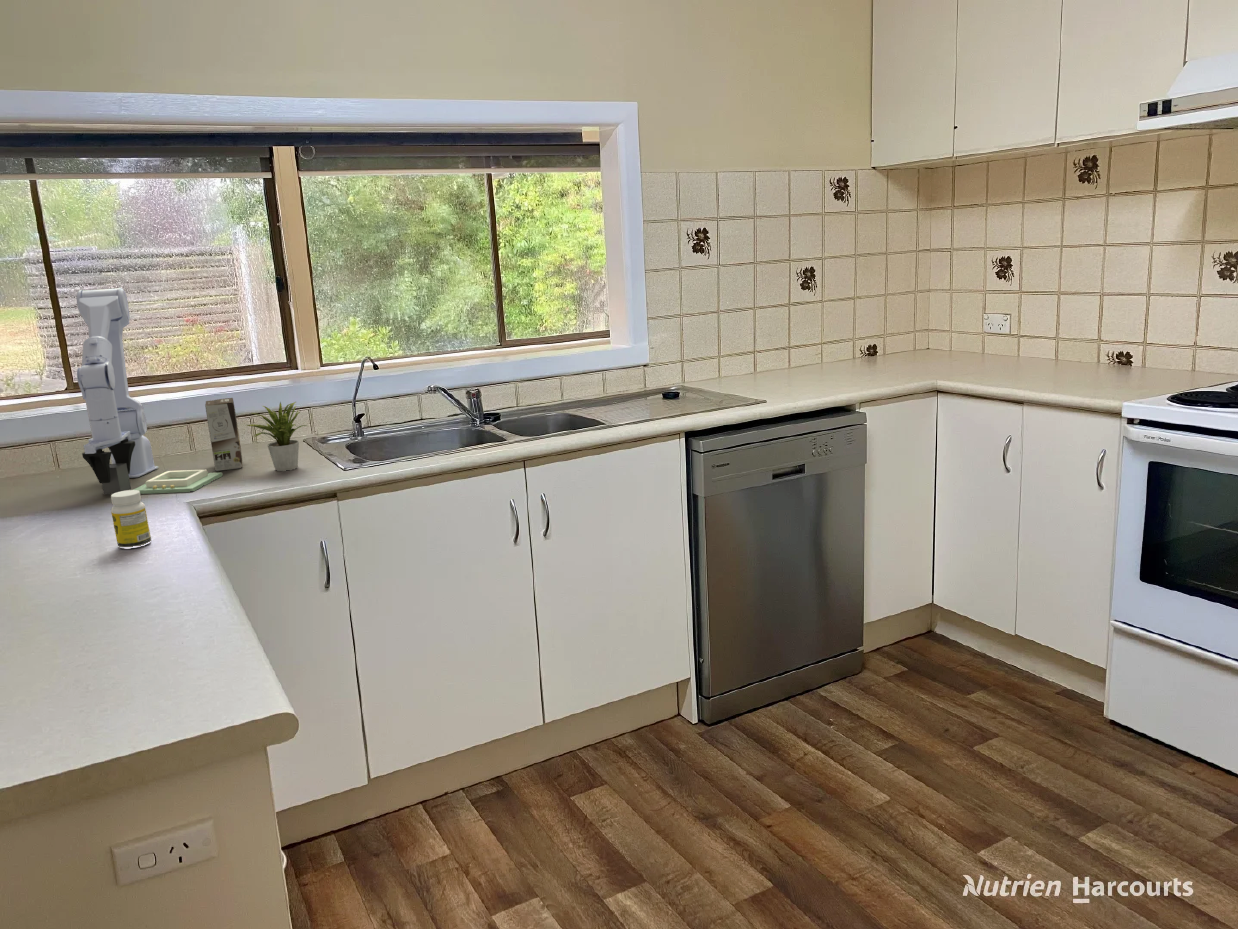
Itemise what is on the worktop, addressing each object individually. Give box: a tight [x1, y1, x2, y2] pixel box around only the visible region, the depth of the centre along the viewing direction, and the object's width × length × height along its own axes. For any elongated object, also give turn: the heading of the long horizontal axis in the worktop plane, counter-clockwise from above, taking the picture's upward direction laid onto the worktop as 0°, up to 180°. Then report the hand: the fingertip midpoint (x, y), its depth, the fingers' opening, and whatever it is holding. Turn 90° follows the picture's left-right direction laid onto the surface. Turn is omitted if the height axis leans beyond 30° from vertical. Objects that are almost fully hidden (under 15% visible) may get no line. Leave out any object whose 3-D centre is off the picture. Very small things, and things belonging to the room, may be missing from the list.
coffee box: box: [204, 397, 243, 472], centre depth 228 cm, size 9×6×16 cm
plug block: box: [101, 463, 132, 495], centre depth 210 cm, size 4×4×6 cm
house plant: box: [246, 401, 308, 472], centre depth 223 cm, size 14×14×16 cm
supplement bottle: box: [110, 489, 152, 548], centre depth 169 cm, size 6×6×10 cm
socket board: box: [133, 468, 223, 495], centre depth 214 cm, size 14×14×2 cm
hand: (114, 478), depth 210 cm, fingers open, 7 cm apart
